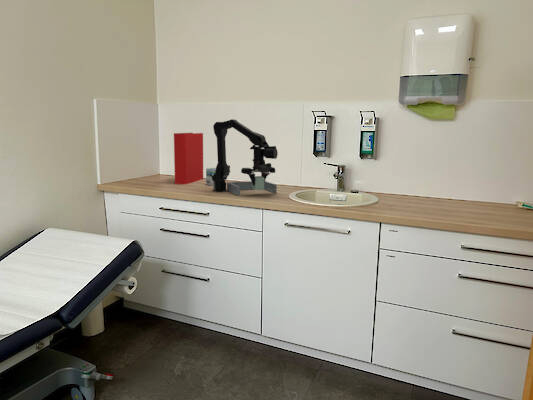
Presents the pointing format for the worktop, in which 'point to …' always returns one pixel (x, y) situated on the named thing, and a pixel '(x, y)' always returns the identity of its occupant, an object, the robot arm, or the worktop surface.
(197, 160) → the book
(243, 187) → the open-front crate
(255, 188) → the sage block
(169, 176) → the worktop surface
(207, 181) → the light bulb box
